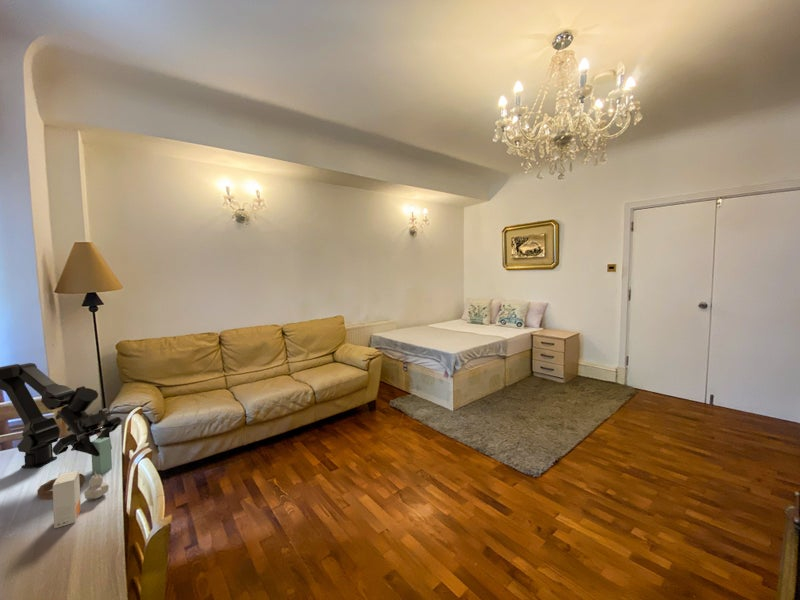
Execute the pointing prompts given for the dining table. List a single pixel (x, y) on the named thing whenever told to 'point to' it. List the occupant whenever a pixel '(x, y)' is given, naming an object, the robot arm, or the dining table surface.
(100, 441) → the green rectangular block
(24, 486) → the dining table surface
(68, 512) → the skincare box
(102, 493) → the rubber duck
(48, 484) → the walnut ring
